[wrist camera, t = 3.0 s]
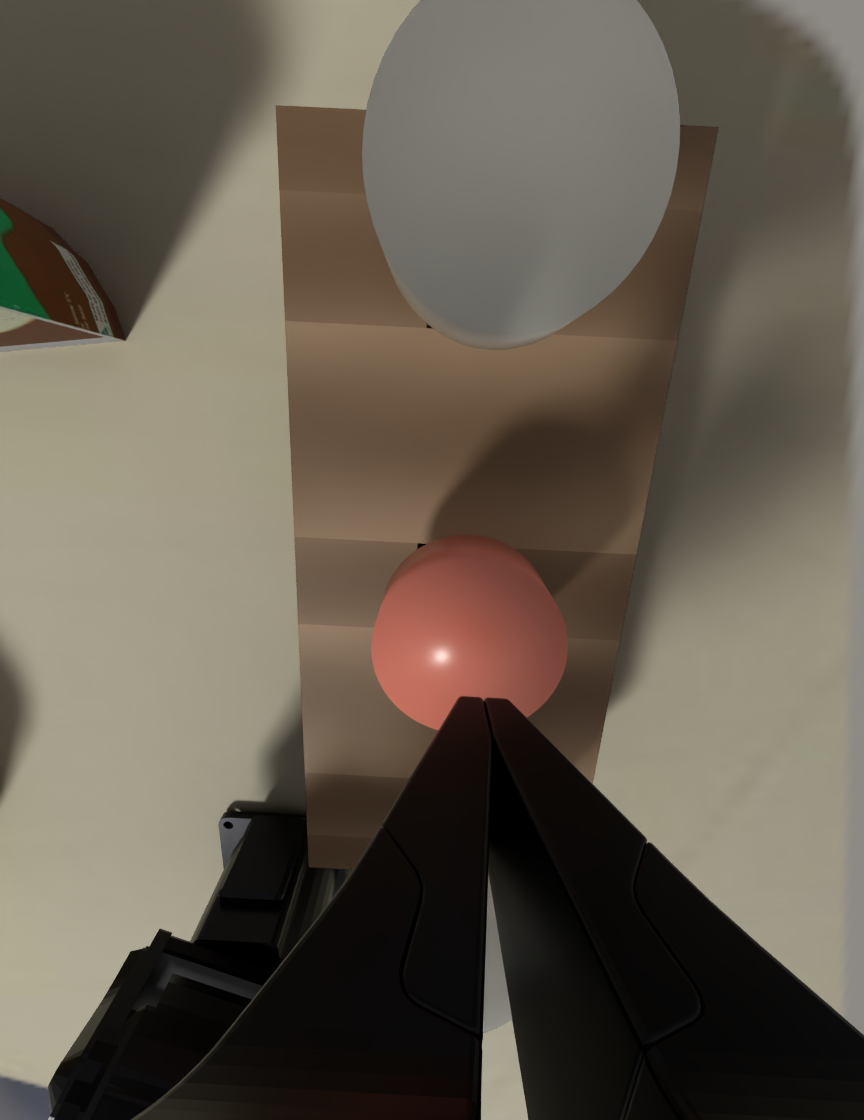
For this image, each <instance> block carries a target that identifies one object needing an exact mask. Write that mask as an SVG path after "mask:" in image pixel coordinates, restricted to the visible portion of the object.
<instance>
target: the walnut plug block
mask: <svg viewBox="0 0 864 1120" xmlns="http://www.w3.org/2000/svg"><path fill="white" fill-rule="evenodd" d="M365 116H366V110H358V109H338V108H318V107H297V106H277V105H276V121H277V144H278V167H279V191H280V214H281V237H282V260H283V283H284V306H285V329H286V352H287V375H288V398H289V421H290V444H291V467H292V490H293V514H294V537H295V560H296V583H297V606H298V629H299V652H300V675H301V698H302V721H303V744H304V767H305V790H306V813H307V837H308V860H309V867H315V868H333V869H352V870H353V868H354V867H355V865H356V864H357V862H358V861H359V859H360V858H361V856H362V855H363V853H364V852H365V850H366V849H367V847H368V845H369V844H370V842H371V840H372V839H373V837H374V835H375V834H376V832H377V830H378V829H379V828H381V825H382V823H383V821H384V819H385V818H386V816H387V814H388V813H389V811H390V809H391V808H392V806H393V804H394V803H395V801H396V800H397V798H398V796H399V795H400V793H401V791H402V790H403V788H404V786H405V785H406V783H407V781H408V780H409V778H410V776H411V775H412V773H413V771H414V770H415V768H416V767H417V765H418V763H419V762H420V760H421V758H422V757H423V755H424V753H425V752H426V750H427V748H428V747H429V745H430V743H431V742H432V740H433V738H434V737H435V735H436V734H437V732H438V730H435V729H433V728H430V727H427V726H425V725H423V724H421V723H419V722H417V721H415V720H413V719H412V718H410V717H409V716H407V715H406V714H405V713H403V712H402V711H401V710H400V709H399V708H398V707H397V706H396V705H395V704H394V703H393V702H392V701H391V700H390V699H389V697H388V696H387V695H386V693H385V692H384V690H383V689H382V687H381V685H380V683H379V681H378V679H377V676H376V673H375V670H374V666H373V661H372V652H371V644H372V635H373V630H374V626H375V622H376V619H377V616H378V613H379V609H380V606H381V603H382V600H383V597H384V593H385V590H386V588H387V585H388V583H389V580H390V579H391V577H392V575H393V573H394V572H395V570H396V569H397V568H398V567H399V565H400V564H401V563H402V562H403V561H404V560H405V559H406V558H407V557H408V556H409V555H410V554H412V553H413V552H414V551H416V550H417V549H419V548H420V547H422V546H423V544H428V543H430V542H433V541H435V540H438V539H441V538H445V537H449V536H456V535H476V536H484V537H488V538H492V539H495V540H497V541H500V542H503V543H505V544H507V545H508V546H510V547H512V548H514V549H515V550H517V551H518V552H519V553H521V554H522V555H523V556H524V557H525V558H526V559H527V560H528V561H529V562H530V563H531V564H532V565H533V567H534V568H535V569H536V571H537V572H538V574H539V576H540V577H541V579H542V581H543V583H544V584H545V586H546V588H547V589H548V591H549V593H550V594H551V596H552V598H553V600H554V601H555V603H556V605H557V607H558V608H559V610H560V612H561V614H562V617H563V620H564V622H565V626H566V631H567V636H568V655H567V661H566V665H565V669H564V672H563V675H562V677H561V680H560V682H559V683H558V685H557V687H556V689H555V690H554V692H553V693H552V694H551V696H550V697H549V699H548V700H547V701H546V702H545V703H544V704H543V705H542V706H541V707H540V708H539V709H538V710H536V711H535V712H534V713H533V714H531V715H530V716H528V717H527V719H528V720H529V721H530V722H531V723H532V724H533V725H534V726H535V727H536V728H537V729H538V730H539V731H540V732H541V733H542V734H543V735H544V736H545V737H546V738H547V739H548V740H549V741H550V742H551V743H552V744H553V745H554V746H555V747H556V748H557V749H558V750H559V751H560V752H561V753H562V754H563V755H564V756H565V757H566V758H567V759H568V760H569V761H570V762H571V763H572V764H573V765H574V766H575V767H576V768H577V769H578V770H579V771H580V772H581V773H582V774H583V775H584V776H585V777H586V778H587V779H588V780H589V781H590V782H591V783H592V784H593V779H594V774H595V769H596V764H597V758H598V753H599V748H600V743H601V738H602V732H603V727H604V722H605V717H606V711H607V706H608V701H609V696H610V691H611V685H612V680H613V675H614V670H615V665H616V659H617V654H618V649H619V644H620V638H621V633H622V628H623V623H624V618H625V612H626V607H627V602H628V597H629V591H630V586H631V581H632V576H633V571H634V565H635V560H636V555H637V550H638V544H639V539H640V534H641V529H642V524H643V518H644V513H645V508H646V503H647V497H648V492H649V487H650V482H651V477H652V471H653V466H654V461H655V456H656V451H657V445H658V440H659V435H660V430H661V424H662V419H663V414H664V409H665V404H666V398H667V393H668V388H669V383H670V377H671V372H672V367H673V362H674V357H675V351H676V346H677V341H678V336H679V330H680V325H681V320H682V315H683V310H684V304H685V299H686V294H687V289H688V283H689V278H690V273H691V268H692V263H693V257H694V252H695V247H696V242H697V237H698V231H699V226H700V221H701V216H702V210H703V205H704V200H705V195H706V190H707V184H708V179H709V174H710V169H711V163H712V158H713V153H714V148H715V143H716V137H717V132H718V127H706V126H685V125H680V146H679V154H678V163H677V170H676V175H675V179H674V183H673V188H672V192H671V196H670V198H669V201H668V204H667V207H666V210H665V213H664V216H663V218H662V221H661V223H660V225H659V227H658V229H657V231H656V233H655V236H654V238H653V240H652V241H651V243H650V245H649V246H648V248H647V249H646V251H645V253H644V254H643V256H642V258H641V259H640V261H639V262H638V263H637V264H636V266H635V267H634V268H633V270H632V271H631V272H630V274H629V275H628V276H627V277H626V278H625V279H624V280H623V281H622V283H621V284H620V285H619V286H618V287H617V288H616V289H615V290H614V291H613V292H612V293H611V294H609V295H608V296H607V297H606V298H604V299H603V300H602V301H601V302H600V303H598V304H597V305H596V306H595V307H593V308H592V309H590V310H589V311H587V312H586V313H584V314H583V315H581V316H580V317H578V318H577V319H575V320H574V321H572V322H571V323H569V324H568V325H566V326H565V327H563V328H562V329H560V330H558V331H557V332H555V333H554V334H552V335H550V336H549V337H547V338H544V339H542V340H540V341H538V342H536V343H533V344H530V345H526V346H523V347H519V348H513V349H507V350H487V349H479V348H474V347H470V346H467V345H463V344H460V343H458V342H456V341H453V340H451V339H449V338H447V337H445V336H444V335H442V334H440V333H439V332H437V331H435V330H434V329H433V328H432V327H431V326H429V325H428V324H427V323H426V322H424V321H423V320H422V319H421V318H420V317H419V315H418V314H417V313H416V312H415V311H414V310H413V309H412V308H411V306H410V305H409V304H408V302H407V301H406V299H405V298H404V297H403V295H402V293H401V292H400V290H399V288H398V286H397V284H396V282H395V280H394V278H393V276H392V273H391V271H390V268H389V266H388V263H387V260H386V258H385V255H384V252H383V249H382V247H381V244H380V241H379V239H378V236H377V233H376V230H375V228H374V225H373V222H372V218H371V214H370V211H369V207H368V203H367V198H366V192H365V186H364V180H363V163H362V145H363V128H364V122H365Z"/></svg>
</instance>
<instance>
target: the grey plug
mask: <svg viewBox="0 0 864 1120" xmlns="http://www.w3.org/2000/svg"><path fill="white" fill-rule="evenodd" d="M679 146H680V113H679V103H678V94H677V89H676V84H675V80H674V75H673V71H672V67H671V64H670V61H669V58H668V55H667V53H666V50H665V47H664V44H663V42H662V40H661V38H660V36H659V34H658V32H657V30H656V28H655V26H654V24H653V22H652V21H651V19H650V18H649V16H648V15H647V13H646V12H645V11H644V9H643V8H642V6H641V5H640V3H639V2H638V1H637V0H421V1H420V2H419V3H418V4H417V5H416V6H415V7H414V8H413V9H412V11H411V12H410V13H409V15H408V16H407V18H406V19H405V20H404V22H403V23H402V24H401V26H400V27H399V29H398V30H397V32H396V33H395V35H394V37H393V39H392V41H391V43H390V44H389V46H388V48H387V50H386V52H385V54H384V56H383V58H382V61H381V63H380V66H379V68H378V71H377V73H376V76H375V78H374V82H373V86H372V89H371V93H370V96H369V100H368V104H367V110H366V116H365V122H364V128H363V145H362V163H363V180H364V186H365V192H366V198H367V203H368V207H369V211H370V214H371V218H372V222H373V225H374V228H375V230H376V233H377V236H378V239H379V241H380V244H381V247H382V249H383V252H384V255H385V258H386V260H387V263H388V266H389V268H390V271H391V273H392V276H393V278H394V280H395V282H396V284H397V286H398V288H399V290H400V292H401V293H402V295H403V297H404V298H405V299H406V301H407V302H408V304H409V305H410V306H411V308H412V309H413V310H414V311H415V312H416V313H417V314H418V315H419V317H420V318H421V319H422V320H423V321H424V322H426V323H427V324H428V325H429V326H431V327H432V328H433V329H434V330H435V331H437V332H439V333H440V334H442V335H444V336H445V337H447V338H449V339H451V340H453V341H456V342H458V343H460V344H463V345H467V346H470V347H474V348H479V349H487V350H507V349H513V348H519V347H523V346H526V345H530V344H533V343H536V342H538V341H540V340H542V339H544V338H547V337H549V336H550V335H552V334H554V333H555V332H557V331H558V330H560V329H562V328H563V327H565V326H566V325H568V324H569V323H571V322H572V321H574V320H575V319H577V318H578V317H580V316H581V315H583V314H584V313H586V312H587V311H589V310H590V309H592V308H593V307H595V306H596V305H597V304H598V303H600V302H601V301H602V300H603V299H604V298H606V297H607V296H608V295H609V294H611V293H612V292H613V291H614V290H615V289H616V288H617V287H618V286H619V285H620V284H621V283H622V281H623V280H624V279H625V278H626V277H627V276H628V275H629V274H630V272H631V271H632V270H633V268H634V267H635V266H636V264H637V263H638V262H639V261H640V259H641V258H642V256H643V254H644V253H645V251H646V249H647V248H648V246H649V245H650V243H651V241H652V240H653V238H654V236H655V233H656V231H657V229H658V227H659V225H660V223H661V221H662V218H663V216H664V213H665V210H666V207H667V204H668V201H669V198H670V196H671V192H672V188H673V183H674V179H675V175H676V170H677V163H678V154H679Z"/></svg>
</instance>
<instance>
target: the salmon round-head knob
mask: <svg viewBox="0 0 864 1120" xmlns="http://www.w3.org/2000/svg"><path fill="white" fill-rule="evenodd" d="M371 652H372V661H373V666H374V670H375V673H376V676H377V679H378V681H379V683H380V685H381V687H382V689H383V690H384V692H385V693H386V695H387V696H388V697H389V699H390V700H391V701H392V702H393V703H394V704H395V705H396V706H397V707H398V708H399V709H400V710H401V711H402V712H403V713H405V714H406V715H407V716H409V717H410V718H412V719H413V720H415V721H417V722H419V723H421V724H423V725H425V726H427V727H430V728H433V729H435V730H439V729H440V727H441V725H442V724H443V722H444V720H445V719H446V717H447V715H448V714H449V712H450V710H451V709H452V707H453V705H454V704H455V702H456V700H457V699H458V698H459V697H460V696H471V697H481V698H482V699H483V701H484V699H485V698H488V697H490V698H506V699H508V700H509V701H511V702H512V703H513V704H514V705H515V706H516V707H517V708H518V709H519V710H520V711H521V712H522V713H523V714H524V715H525V716H526V717H528V716H530V715H531V714H533V713H534V712H535V711H536V710H538V709H539V708H540V707H541V706H542V705H543V704H544V703H545V702H546V701H547V700H548V699H549V697H550V696H551V694H552V693H553V692H554V690H555V689H556V687H557V685H558V683H559V682H560V680H561V677H562V675H563V672H564V669H565V665H566V661H567V655H568V636H567V631H566V626H565V622H564V620H563V617H562V614H561V612H560V610H559V608H558V607H557V605H556V603H555V601H554V600H553V598H552V596H551V594H550V593H549V591H548V589H547V588H546V586H545V584H544V583H543V581H542V579H541V577H540V576H539V574H538V572H537V571H536V569H535V568H534V567H533V565H532V564H531V563H530V562H529V561H528V560H527V559H526V558H525V557H524V556H523V555H522V554H521V553H519V552H518V551H517V550H515V549H514V548H512V547H510V546H508V545H507V544H505V543H503V542H500V541H497V540H495V539H492V538H488V537H484V536H476V535H456V536H449V537H445V538H441V539H438V540H435V541H433V542H430V543H428V544H426V545H424V546H422V547H420V548H419V549H417V550H416V551H414V552H413V553H412V554H410V555H409V556H408V557H407V558H406V559H405V560H404V561H403V562H402V563H401V564H400V565H399V567H398V568H397V569H396V570H395V572H394V573H393V575H392V577H391V579H390V580H389V583H388V585H387V588H386V590H385V593H384V597H383V600H382V603H381V606H380V609H379V613H378V616H377V619H376V622H375V626H374V630H373V635H372V644H371Z"/></svg>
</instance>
